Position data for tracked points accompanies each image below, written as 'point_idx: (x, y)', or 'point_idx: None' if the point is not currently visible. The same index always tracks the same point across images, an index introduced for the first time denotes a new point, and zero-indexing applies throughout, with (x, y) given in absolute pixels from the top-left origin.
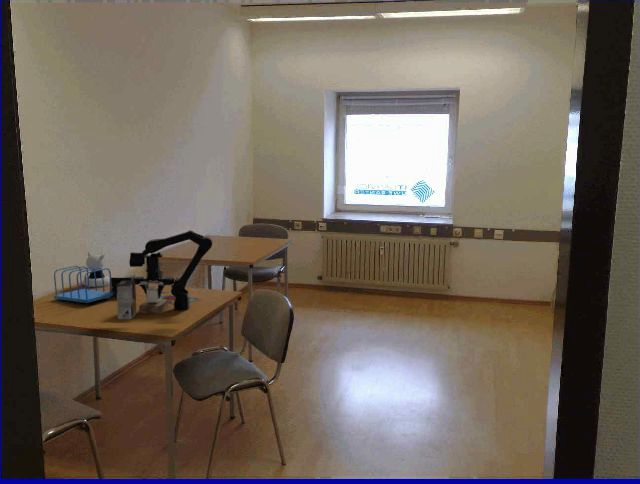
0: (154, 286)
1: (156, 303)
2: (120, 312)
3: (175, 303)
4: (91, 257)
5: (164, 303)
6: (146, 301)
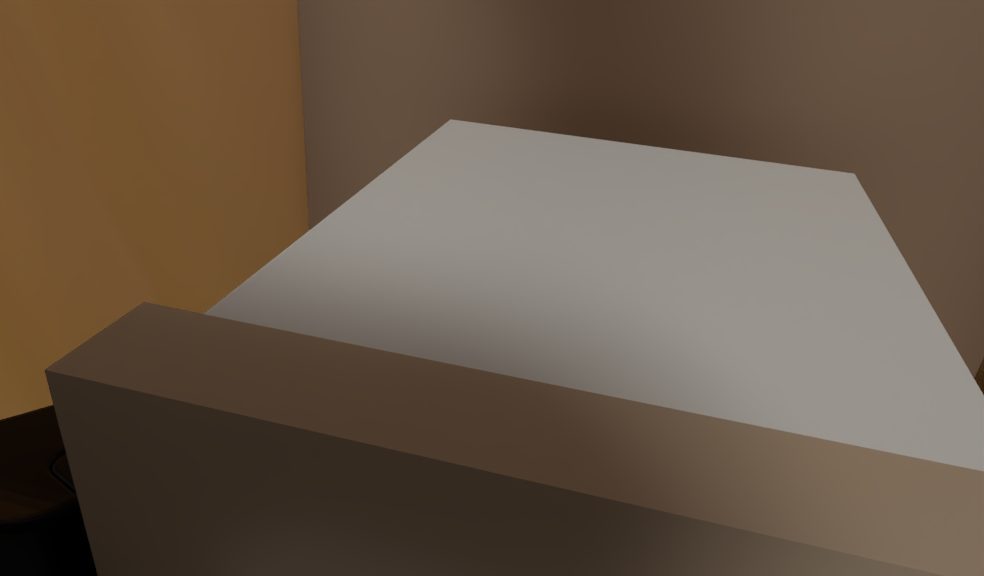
0: (473, 516)
1: None
2: None
3: None
4: None
5: (980, 331)
6: (350, 137)
